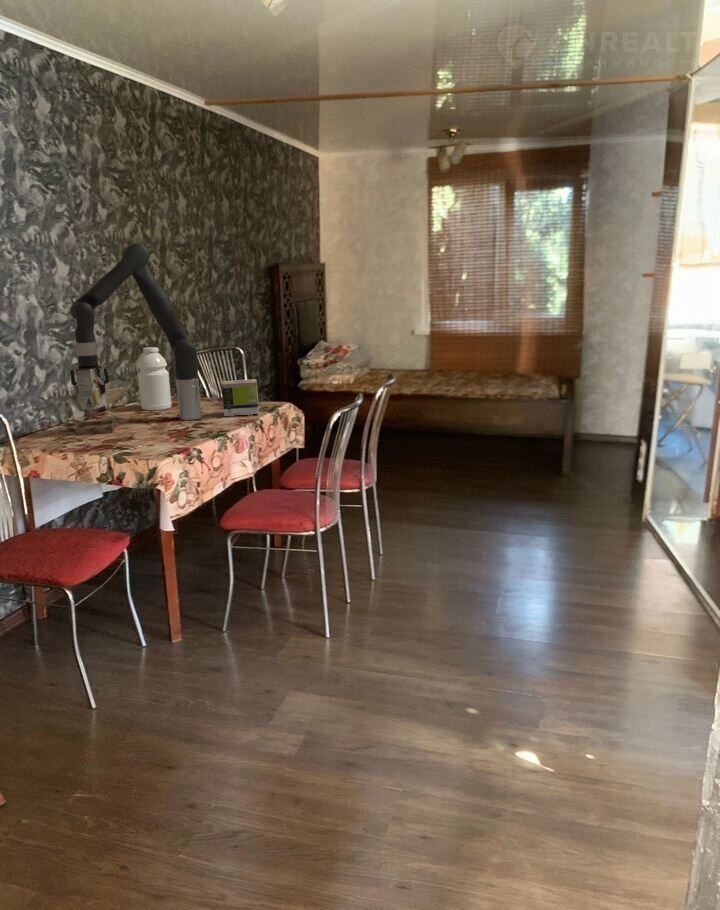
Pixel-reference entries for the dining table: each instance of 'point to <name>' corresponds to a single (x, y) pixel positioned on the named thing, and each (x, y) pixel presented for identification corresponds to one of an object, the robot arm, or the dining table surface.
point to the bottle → (153, 381)
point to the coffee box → (90, 388)
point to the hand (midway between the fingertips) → (92, 394)
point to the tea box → (240, 397)
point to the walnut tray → (95, 427)
